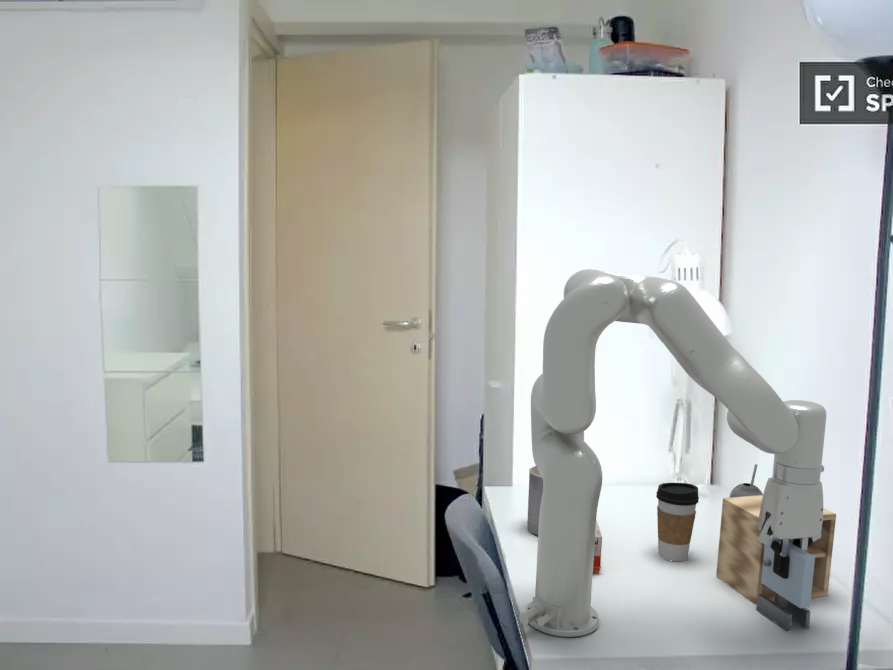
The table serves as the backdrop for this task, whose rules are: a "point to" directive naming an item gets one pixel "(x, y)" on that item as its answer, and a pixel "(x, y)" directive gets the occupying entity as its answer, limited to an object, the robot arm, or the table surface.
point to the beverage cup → (746, 488)
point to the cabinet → (746, 552)
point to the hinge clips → (782, 612)
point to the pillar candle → (534, 499)
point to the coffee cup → (675, 519)
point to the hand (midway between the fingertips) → (786, 573)
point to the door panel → (791, 575)
